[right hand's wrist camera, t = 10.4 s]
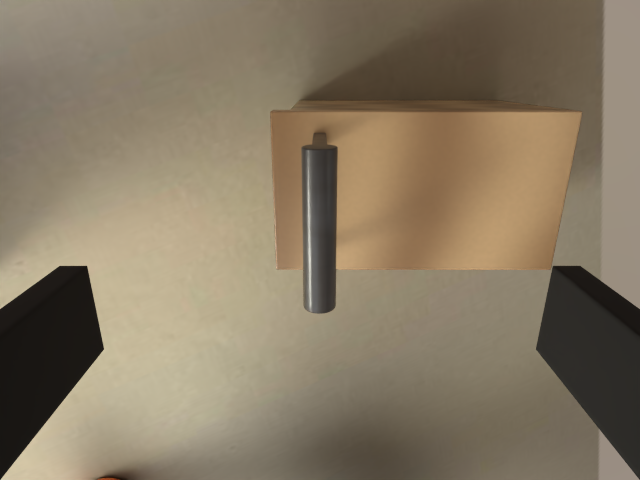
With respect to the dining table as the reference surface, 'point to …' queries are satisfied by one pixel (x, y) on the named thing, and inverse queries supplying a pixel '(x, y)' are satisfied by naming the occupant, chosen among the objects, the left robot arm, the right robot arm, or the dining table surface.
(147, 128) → the dining table surface
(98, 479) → the cup with straw
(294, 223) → the lid
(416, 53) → the dining table surface
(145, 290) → the dining table surface
